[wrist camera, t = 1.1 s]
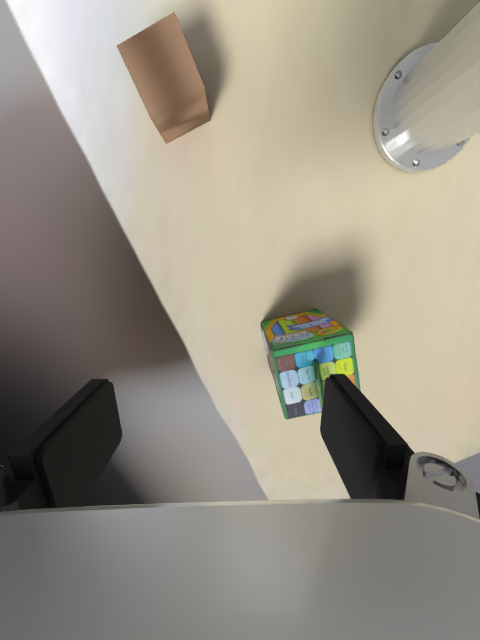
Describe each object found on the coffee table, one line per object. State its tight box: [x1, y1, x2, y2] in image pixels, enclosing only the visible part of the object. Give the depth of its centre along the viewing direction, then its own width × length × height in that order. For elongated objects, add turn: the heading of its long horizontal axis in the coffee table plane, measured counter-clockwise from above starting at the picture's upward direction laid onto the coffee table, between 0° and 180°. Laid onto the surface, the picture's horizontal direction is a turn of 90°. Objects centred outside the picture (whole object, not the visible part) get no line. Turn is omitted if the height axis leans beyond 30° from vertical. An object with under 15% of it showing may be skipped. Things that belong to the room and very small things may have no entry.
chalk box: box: [261, 310, 361, 419], centre depth 30 cm, size 9×9×15 cm
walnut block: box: [117, 12, 210, 144], centre depth 25 cm, size 6×6×6 cm
